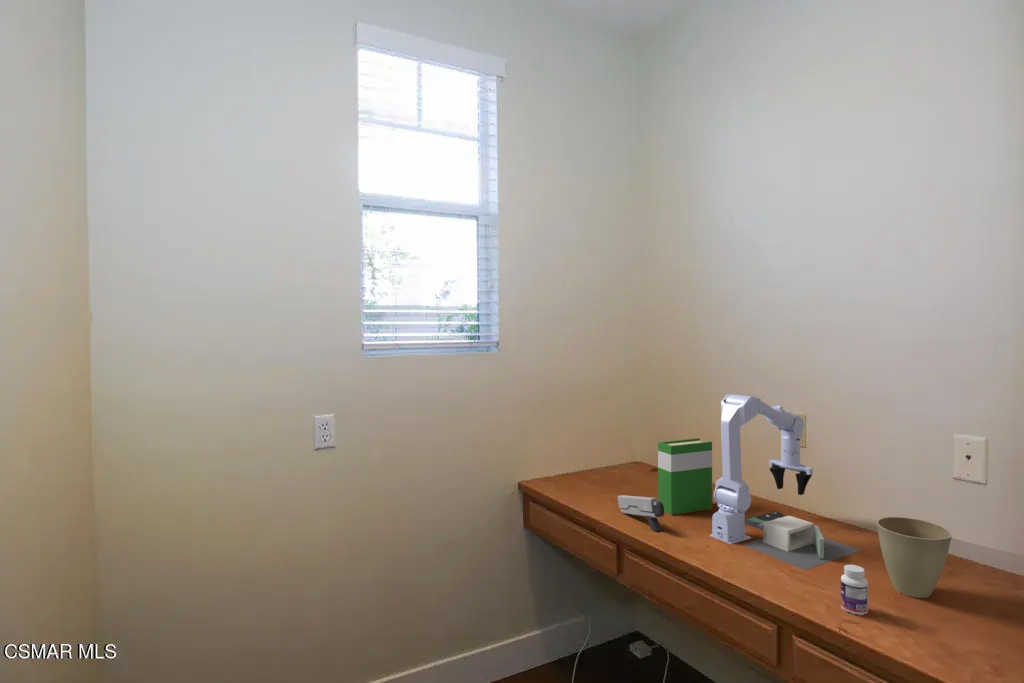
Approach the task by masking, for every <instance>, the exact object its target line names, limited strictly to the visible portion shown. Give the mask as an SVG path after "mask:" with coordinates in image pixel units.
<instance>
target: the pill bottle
mask: <svg viewBox="0 0 1024 683" xmlns="http://www.w3.org/2000/svg"><path fill="white" fill-rule="evenodd" d="M843 567H844V568H843V573H844V574H842V575H841V577H840V607H841V609H842V610H843V609H844V610H845V612H846V611H847V612H846V613H848V612H850V613H849V614H851V613H852V614H851V615H855V614H858V615H857V616H865V615H867V614H868V612H869V582H868V579H866V577H865V574H866V572H865V568H864V567H862V566H860V565H855V564H845V565H844V566H843ZM844 610H843V611H844ZM866 613H867V614H866ZM859 614H860V615H859ZM864 614H865V615H864Z"/></svg>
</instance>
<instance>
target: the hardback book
mask: <svg viewBox="0 0 1024 683" xmlns="http://www.w3.org/2000/svg"><path fill="white" fill-rule="evenodd" d="M657 461H658V462H657V465H658V466H657V473H658V474H657V477H658V478H657V485H658V486H657V487H658V488H657V496H658V497H657V501H661V502H662V504H663V506H664V511H665V512H664V513H666V512H667V513H666V514H668V513H669V514H668V515H670V514H671V515H670V516H674V515H673V514H676V515H680V514H679V513H682V514H686V513H685V512H689V513H693V512H692V511H695V512H699V511H698V510H701V511H705V510H704V509H707V510H711V509H710V508H712V509H713V441H710V440H709V441H701V439H700V438H699V437H695V438H687V439H686V438H684V439H676V440H675V439H674V440H668V441H667V440H666V441H657Z"/></svg>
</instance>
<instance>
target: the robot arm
mask: <svg viewBox="0 0 1024 683" xmlns="http://www.w3.org/2000/svg"><path fill="white" fill-rule="evenodd" d="M720 410H721V411H720V414H721V419H720V432H721V434H720V435H721V436H720V438H721V464H722V465H721V466H722V476H721V477H720V478H719V479H717V480H716V481H715V488H714V490H713V498H714V502H715V503H716V504H717V507H718V511H715V512H714V513H713V514H712V519H711V521H712V522H711V524H712V525H711V528H712V529H711V530H712V531H711V534H709V537H711V538H713V539H717V540H719V541H721V542H724V543H726V544H729V545H732V544H735V543H736V544H737V543H740V542H743V541H747V540H751V539H752V537H751V536H749V535H747V534H745V533H746V530H745V529H746V528H745V527H746V517H745V516H746V513H745V512H747V511H748V510H749V508H750V507H751V504H752V496H751V493H750V490H749V485H748V484H747V482H746V481H745V480H744V479H743V478H742V475H743V474H742V452H741V451H742V450H741V427H742V426H743V425H746V424H747V423H748V422H750V421H751V420H753V419H755V417H756V416H758V414H760V415H762V416H764V417H765V419H766V421H767V422H768V423H770V424H772V425H774V426H776V427H777V429H778V430H779V431H780V460H779V459H769V461H768V464H769V466H771V467H769V471H770V472H771V474H772V476H773V478H774V481H775V485H776V488H777V490H783V489H784V477H785V471H786V470H789V471H794V472H798V473H795V478H796V482H797V496H798V495H799V496H802V495H805V493H806V492H805V491H806V488H807V486H808V483H809V481H810V479H811V478H812V476H813V475H814V468H813V467H810V466H806V465H804V464H801V438H802V437H803V431H804V429H805V422H804V419H803V418H802V417H801V416H800V415H797V414H796V415H795V414H792V412H791V411H789V410H785V409H783V406H782V405H772V406H770V405H769V404H767V403H766V402H764V401H762V400H761V398H759V397H756V396H752V395H751V396H749V395H740V394H735V393H727V394H726V395H725V396H724V397H723V399H722V400H721V401H720Z"/></svg>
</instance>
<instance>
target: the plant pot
mask: <svg viewBox="0 0 1024 683" xmlns="http://www.w3.org/2000/svg"><path fill="white" fill-rule="evenodd" d="M876 528H877V535H878V540H879V545H880V550H881V555H882V557H883V558H882V559H883V561H884V562H883V563H884V564H885V568H886V570H887V573H888V576H889V579H890V582H891V585H892V586H893V588H894V589H895V590H896V591H897V592H899V593H900V594H902V595H904V596H907V597H911V598H915V599H916V598H917V599H927V598H930V597H931V595H932V594H933V592H934V590H935V588H936V586H937V584H938V582H939V579H940V577H941V575H942V572H943V570H944V567H945V564H946V560H947V558H948V553H949V550H950V546H951V541H952V537H953V536H952V535H953V534H952V532H951V531H950V530H949V529H948V528H945V527H944V526H941V525H940V524H936V523H933V522H930V521H927V520H923V519H917V518H911V517H901V516H885V517H881V518H878V519H877V520H876Z"/></svg>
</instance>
